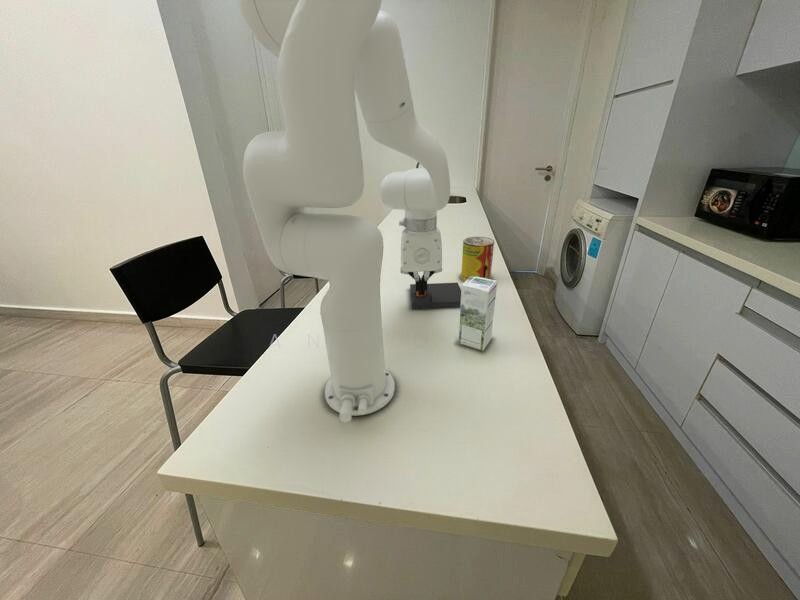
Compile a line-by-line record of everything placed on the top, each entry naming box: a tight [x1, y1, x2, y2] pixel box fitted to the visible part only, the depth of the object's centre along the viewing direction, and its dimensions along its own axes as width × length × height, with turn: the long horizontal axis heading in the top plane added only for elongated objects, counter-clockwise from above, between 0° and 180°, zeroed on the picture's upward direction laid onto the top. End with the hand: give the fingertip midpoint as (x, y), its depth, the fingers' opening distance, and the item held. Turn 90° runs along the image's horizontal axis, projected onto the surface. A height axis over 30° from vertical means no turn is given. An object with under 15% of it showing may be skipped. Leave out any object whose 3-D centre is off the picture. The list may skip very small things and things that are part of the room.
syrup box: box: [458, 276, 498, 352], centre depth 69 cm, size 6×6×14 cm
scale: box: [409, 282, 461, 310], centre depth 91 cm, size 13×14×4 cm
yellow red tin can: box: [460, 236, 495, 282], centre depth 101 cm, size 9×9×12 cm
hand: (421, 292), depth 87 cm, fingers closed
